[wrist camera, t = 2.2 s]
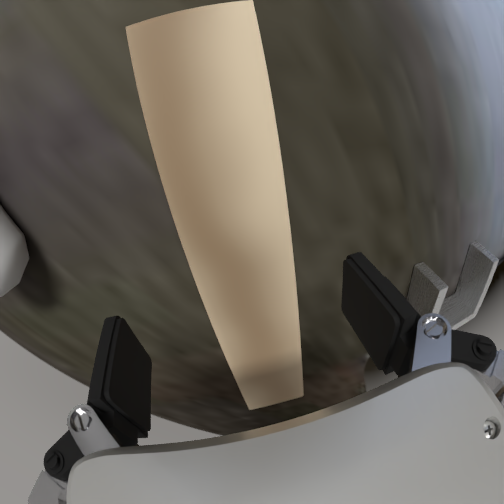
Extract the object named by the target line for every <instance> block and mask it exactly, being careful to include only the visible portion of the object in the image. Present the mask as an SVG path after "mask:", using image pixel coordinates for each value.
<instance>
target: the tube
mask: <svg viewBox="0 0 504 504" xmlns="http://www.w3.org/2000/svg"><path fill="white" fill-rule="evenodd" d="M28 260H29V254H28V250H27V245H26V240H25V236H24V234H23V232H22V231H21V230H20V229H19V228H18V226H17V225H16V224H15V223H14V221H13V220H12V219H11V218H10V216H9V215H8V214H7V213H6V211H5V210H4V209H3V207H2V206H1V205H0V297H2V296H3V295H5V294H6V293H7V292H8V291H10V290H11V289H12V288H14V287H15V286H16V285H17V284H19V283H20V280H21V278H22V275H23V273H24V270H25V268H26V265H27V263H28Z"/></svg>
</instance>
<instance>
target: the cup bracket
mask: <svg viewBox="0 0 504 504" xmlns="http://www.w3.org/2000/svg"><path fill="white" fill-rule="evenodd" d="M498 261H499V259H497V258H496V257H495V256H494V255H493V254H492V253H490V252H489V251H488V250H487V249H485V248H484V247H483V246H482V245H480V244H479V243H478V242H477V241H474V242H472V243H470V247H469V250H468V254H467V257H466V261H465V264H464V267H463V271H462V274H461V277H460V280H459V283H458V286H457V288H456V291H455V294H453V295H451V296H449V297H447V298H445V295H446V292H447V289H448V286H447V285H446V284H445V283H444V282H443V281H442V280H441V279H440V278H439V277H438V276H437V275H436V274H435V273H434V272H433V271H432V270H431V269H430V268H429V267H428V266H427V265H426V264H425V263H424V262H421V263H419V264H416V265H414V269H413V274H412V278H411V283H410V287H409V291H408V295H407V299H406V300H407V301H408V302H409V303H410V304H411V305H412V306H413V308H414V309H415V310H416V311H417V312H418V313H419V315H420V316H421V317H422V316H423V315H425V314H429V313H436V314H439V315H441V316H443V317H445V318H446V319H447V320H448V322H449V323H450V326H451V329H453V330H455V329H457V328H458V327H460V326H461V325H463V324H465V323H466V322H468V321H469V320H471V319H472V318H474V317H475V316H476V314H477V312H478V310H479V308H480V306H481V303H482V301H483V299H484V297H485V294H486V292H487V290H488V287H489V285H490V282H491V280H492V277H493V275H494V272H495V269H496V267H497V264H498ZM444 298H445V299H444Z"/></svg>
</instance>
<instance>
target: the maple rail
mask: <svg viewBox="0 0 504 504" xmlns="http://www.w3.org/2000/svg"><path fill="white" fill-rule="evenodd" d="M126 32H127V38H128V44H129V49H130V55H131V60H132V65H133V70H134V74H135V79H136V84H137V88H138V93H139V97H140V101H141V106H142V110H143V114H144V118H145V122H146V126H147V130H148V134H149V138H150V141H151V145H152V149H153V152H154V156H155V160H156V163H157V167H158V170H159V174H160V177H161V180H162V184H163V187H164V190H165V194H166V197H167V200H168V203H169V206H170V210H171V213H172V216H173V219H174V222H175V225H176V228H177V231H178V234H179V237H180V240H181V243H182V246H183V249H184V252H185V254H186V257H187V260H188V263H189V266H190V268H191V271H192V274H193V277H194V279H195V282H196V285H197V287H198V290H199V293H200V295H201V298H202V301H203V303H204V306H205V308H206V311H207V313H208V316H209V318H210V321H211V323H212V326H213V328H214V331H215V333H216V336H217V338H218V341H219V343H220V345H221V348H222V350H223V352H224V355H225V357H226V359H227V362H228V364H229V366H230V369H231V371H232V373H233V375H234V378H235V380H236V382H237V384H238V386H239V389H240V391H241V393H242V395H243V397H244V399H245V402H246V404H247V406H248V408H249V410H252V409H257V408H261V407H265V406H269V405H273V404H277V403H281V402H284V401H288V400H292V399H295V398H298V397H302V396H304V394H303V374H302V356H301V341H300V327H299V313H298V301H297V290H296V279H295V268H294V258H293V248H292V239H291V230H290V221H289V213H288V205H287V197H286V189H285V181H284V174H283V166H282V159H281V152H280V145H279V139H278V132H277V126H276V119H275V113H274V107H273V101H272V95H271V90H270V84H269V78H268V73H267V67H266V62H265V57H264V52H263V46H262V41H261V37H260V32H259V27H258V22H257V17H256V13H255V8H254V4H253V0H249V1H238V2H229V3H221V4H214V5H208V6H202V7H197V8H192V9H187V10H183V11H178V12H174V13H170V14H166V15H162V16H159V17H155V18H152V19H148V20H145V21H142V22H139V23H136V24H133V25H130V26H127V27H126Z"/></svg>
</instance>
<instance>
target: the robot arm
mask: <svg viewBox="0 0 504 504" xmlns="http://www.w3.org/2000/svg"><path fill="white" fill-rule="evenodd" d="M342 311H343V313H344V315H345V317H346V318H347V320H348V321H349V323H350V325H351V326H352V328H353V329H354V331H355V332H356V334H357V336H358V337H359V339H360V340H361V342H362V344H363V345H364V347H365V348H366V350H367V352H368V353H369V355H370V357H371V358H372V360H373V361H374V363H375V365H376V366H377V368H378V369H379V370H383V371H384V373H385V375H386V374H388V373H390V372H393V371H395V372H396V374H397V375H398V378H397V379H394V380H392V381H390V382H388V383H386V384H384V385H381V386H379V387H377V388H375V389H373V390H370V391H368V392H365V393H363V394H361V395H358V396H356V397H354V398H351V399H349V400H346V401H344V402H341V403H338V404H336V405H333V406H330V407H328V408H325V409H322V410H319V411H316V412H313V413H310V414H307V415H304V416H301V417H298V418H294V419H291V420H288V421H284V422H281V423H277V424H273V425H270V426H266V427H262V428H258V429H254V430H249V431H245V432H240V433H235V434H230V435H225V436H220V437H214V438H208V439H201V440H194V441H187V442H178V443H169V444H158V445H144V446H139V445H138V444H137V443H138V438H147V437H148V431H150V429H151V419H150V418H151V369H152V362H151V359H150V357H149V355H148V354H147V352H146V351H145V349H144V348H143V346H142V345H141V344H140V342H139V341H138V339H137V338H136V336H135V335H134V333H133V332H132V330H131V329H130V327H129V325H128V324H127V322H126V321H125V319H124V318H120V317H119V316H113V317H109V318H106V319H105V321H104V325H103V329H102V333H101V337H100V341H99V345H98V349H97V354H96V358H95V363H94V368H93V373H92V378H91V383H90V390H89V395H88V401H87V405H86V404H81V405H77V406H76V407H74V408H73V409H72V410H71V412H70V413H69V415H68V419H67V425H68V428H69V430H68V431H67V432H66V433H65V434H64V435H63V436H62V437H61V438H60V439H59V440H58V441H57V442H56V443H55V444H54V445H53V446H52V447H51V448H50V449H49V450H48V451H47V453H46V454H45V457H44V466H45V471H42V472H41V473H40V476H39V477H38V479H37V481H36V483H35V485H34V487H33V489H32V492H31V494H30V496H29V499H28V504H504V351H503V350H501V349H500V350H499V351H497V350H496V346H495V344H494V343H493V341H492V340H491V339H489V338H488V337H485V336H482V335H477V334H472V333H467V332H463V331H458V330H453V329H451V326H450V323H449V322H448V320H447V319H446V318H445V317H443V316H441V315H439V314H436V313H429V314H425V315H423V316H422V317H421V316H420V315H419V313H418V312H417V311H416V310H415V309H414V308H413V306H412V305H411V304H410V303H409V302H408V301H407V300H406V298H405V297H404V296H403V295H402V294H401V293H400V292H399V291H398V289H397V288H396V287H395V286H394V285H393V284H392V283H391V282H390V281H389V280H388V279H387V278H386V277H384V276H383V275H382V274H381V273H380V272H379V271H378V270H377V269H376V267H375V266H374V265H373V264H372V263H371V262H370V261H369V260H368V259H367V258H366V257H365V256H364V255H363V254H362V253H361V252H358V253H355V254H351V255H348V256H347V258H346V260H344V262H343V288H342Z"/></svg>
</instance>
